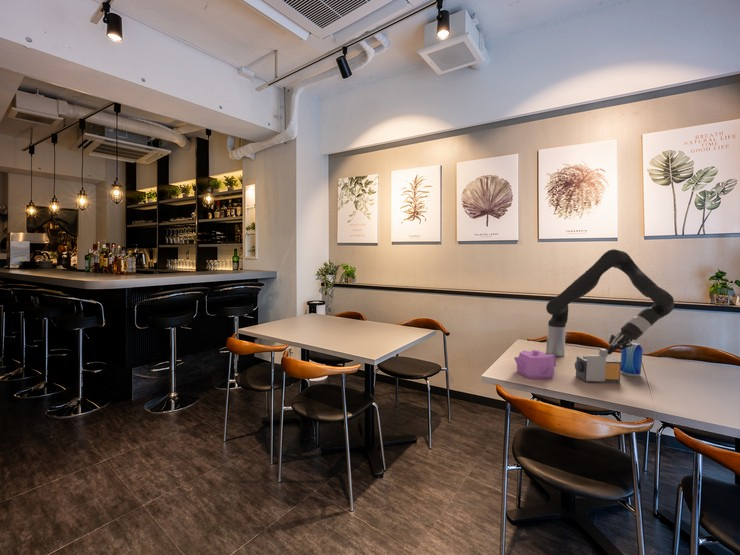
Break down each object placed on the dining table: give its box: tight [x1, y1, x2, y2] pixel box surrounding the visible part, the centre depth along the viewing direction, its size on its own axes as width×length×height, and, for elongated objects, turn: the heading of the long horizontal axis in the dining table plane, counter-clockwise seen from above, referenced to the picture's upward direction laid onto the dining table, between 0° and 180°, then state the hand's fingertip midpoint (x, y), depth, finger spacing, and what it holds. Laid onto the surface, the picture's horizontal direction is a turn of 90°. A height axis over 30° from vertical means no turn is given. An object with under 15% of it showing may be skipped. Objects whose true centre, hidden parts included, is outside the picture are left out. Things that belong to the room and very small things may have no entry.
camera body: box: [574, 355, 622, 384], centre depth 169 cm, size 18×8×11 cm, turn 86°
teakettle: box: [513, 349, 556, 380], centre depth 175 cm, size 17×17×12 cm
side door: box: [586, 348, 609, 381], centre depth 164 cm, size 8×3×15 cm, turn 86°
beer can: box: [620, 341, 643, 378], centre depth 177 cm, size 8×8×16 cm
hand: (606, 353), depth 164 cm, fingers closed
